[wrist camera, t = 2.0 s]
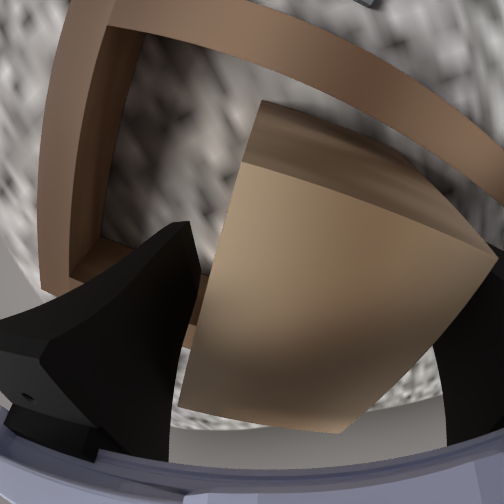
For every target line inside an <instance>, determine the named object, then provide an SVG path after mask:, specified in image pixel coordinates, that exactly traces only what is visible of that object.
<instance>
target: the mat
mask: <svg viewBox="0 0 504 504" xmlns="http://www.w3.org/2000/svg"><path fill="white" fill-rule="evenodd" d="M354 1H356V2H358V3H360V4H362V5H363V6H365V7H369V6H371V4H372V2H373V0H354Z"/></svg>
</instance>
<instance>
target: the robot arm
mask: <svg viewBox="0 0 504 504" xmlns="http://www.w3.org/2000/svg"><path fill="white" fill-rule="evenodd" d="M486 243H487V242H486ZM487 244H488V246H489V247H490V248H491V249H492V251H493V252H494V253H495V254H496V256H497V257H498V258H499V259H498V260H497V262H496V263H495V265H494V266H493V268H492V269H491V271H490V272H489V274H488V275H487V276H486V278H485V279H484V281H483V282H482V284H481V285H480V286H479V288H478V289H477V290H476V292H475V293H474V295H473V296H472V297H471V299H470V300H469V301H468V302H467V304H466V305H465V306H464V308H463V309H462V310H461V311H460V313H459V314H458V315H457V317H456V318H455V319H454V320H453V321H452V323H451V324H450V325H449V326H448V328H447V329H446V330H445V331H444V332H443V333H442V335H441V336H440V337H439V338H438V339H437V340H436V342H435V343H434V344H433V349H434V353H435V357H436V361H437V365H438V370H439V375H440V380H441V386H442V392H443V399H444V407H445V416H446V433H447V447H443V448H440V449H436V450H432V451H428V452H424V453H419V454H415V455H410V456H406V457H400V458H395V459H389V460H384V461H377V462H370V463H363V464H356V465H347V466H339V467H326V468H312V469H292V470H291V469H289V470H251V469H228V468H214V467H213V468H212V467H202V466H192V465H184V464H176V463H169V462H168V460H169V458H168V457H169V434H170V422H171V410H172V401H173V393H174V386H175V379H176V373H177V367H178V361H179V356H180V352H181V348H182V345H183V342H184V338H185V335H186V332H187V329H188V325H189V322H190V319H191V316H192V313H193V309H194V306H195V303H196V299H197V296H198V290H199V285H200V278H201V267H200V263H199V259H198V255H197V251H196V246H195V242H194V238H193V234H192V230H191V225H190V221H183V222H172V223H171V224H169V225H167V226H165V227H164V228H163V229H161V230H160V231H158V232H157V233H156V234H154V235H153V236H152V237H150V238H149V239H148V240H146V241H145V242H144V243H142V244H141V245H140V246H139V247H137V248H136V249H135V250H133V251H132V252H131V253H129V254H128V255H126V256H125V257H124V258H122V259H121V260H119V261H118V262H117V263H115V264H114V265H113V266H111V267H110V268H108V269H107V270H105V271H104V272H102V273H101V274H99V275H97V276H96V277H94V278H92V279H91V280H89V281H88V282H86V283H84V284H82V285H81V286H79V287H77V288H75V289H73V290H71V291H69V292H67V293H65V294H63V295H62V296H60V297H58V298H56V299H53V300H51V301H49V302H47V303H45V304H42V305H40V306H37V307H35V308H33V309H30V310H27V311H25V312H22V313H19V314H16V315H13V316H10V317H7V318H4V319H1V320H0V391H1V392H2V393H3V394H4V395H5V396H6V397H7V398H8V399H9V400H10V401H11V402H12V403H13V404H12V406H11V408H10V410H9V411H8V410H7V409H5V408H4V407H2V406H0V495H1V496H2V497H3V498H5V499H6V500H8V501H9V502H11V503H12V504H504V251H502V250H500V249H498V248H496V247H494V246H492V245H491V244H489V243H487Z"/></svg>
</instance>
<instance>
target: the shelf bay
mask: <svg viewBox="0 0 504 504" xmlns="http://www.w3.org/2000/svg"><path fill="white" fill-rule="evenodd" d="M146 33H151V34H156V35H160V36H165V37H169V38H173V39H177V40H181V41H185V42H188V43H192V44H196V45H199V46H203V47H206V48H209V49H213V50H216V51H219V52H222V53H226V54H229V55H232V56H235V57H238V58H241V59H243V60H246V61H249V62H252V63H255V64H257V65H260V66H263V67H265V68H268V69H271V70H273V71H276V72H278V73H281V74H283V75H286V76H288V77H290V78H293V79H295V80H298V81H300V82H302V83H304V84H307V85H309V86H311V87H313V88H316V89H318V90H320V91H322V92H324V93H326V94H329V95H331V96H333V97H335V98H337V99H339V100H341V101H343V102H345V103H347V104H349V105H351V106H353V107H355V108H357V109H359V110H360V111H362V112H364V113H366V114H368V115H370V116H372V117H373V118H375V119H377V120H379V121H381V122H382V123H384V124H386V125H388V126H389V127H391V128H393V129H394V130H396V131H398V132H400V133H401V134H403V135H404V136H406V137H408V138H409V139H411V140H413V141H414V142H416V143H417V144H419V145H420V146H422V147H424V148H425V149H427V150H428V151H430V152H431V153H433V154H434V155H436V156H437V157H439V158H440V159H442V160H443V161H445V162H446V163H447V164H449V165H450V166H452V167H453V168H454V169H456V170H457V171H459V172H460V173H461V174H463V175H464V176H465V177H467V178H468V179H469V180H471V181H472V182H473V183H475V184H476V185H477V186H479V187H480V188H481V189H482V190H484V191H485V192H486V193H487V194H489V195H490V196H491V197H492V198H494V199H495V200H496V201H497V202H499V203H500V204H501V205H502V206H503V207H504V150H503V149H502V148H501V147H500V146H499V145H498V144H497V143H496V142H494V141H493V140H492V139H491V138H490V137H489V136H488V135H487V134H485V133H484V132H483V131H482V130H481V129H480V128H479V127H477V126H476V125H475V124H474V123H473V122H471V121H470V120H469V119H468V118H466V117H465V116H464V115H463V114H461V113H460V112H459V111H458V110H456V109H455V108H454V107H452V106H451V105H450V104H448V103H447V102H446V101H444V100H443V99H442V98H440V97H439V96H438V95H436V94H435V93H433V92H432V91H430V90H429V89H428V88H426V87H425V86H423V85H422V84H420V83H419V82H417V81H416V80H414V79H413V78H411V77H410V76H408V75H406V74H405V73H403V72H402V71H400V70H398V69H397V68H395V67H394V66H392V65H390V64H388V63H387V62H385V61H383V60H382V59H380V58H378V57H376V56H375V55H373V54H371V53H369V52H367V51H366V50H364V49H362V48H360V47H358V46H356V45H354V44H352V43H350V42H348V41H346V40H344V39H342V38H340V37H338V36H336V35H334V34H332V33H330V32H327V31H325V30H323V29H321V28H319V27H316V26H314V25H312V24H309V23H307V22H305V21H302V20H300V19H297V18H295V17H292V16H290V15H287V14H284V13H282V12H279V11H276V10H274V9H271V8H268V7H265V6H262V5H259V4H256V3H253V2H250V1H247V0H71V3H70V6H69V9H68V12H67V15H66V18H65V22H64V25H63V29H62V32H61V36H60V39H59V43H58V47H57V51H56V55H55V59H54V63H53V68H52V73H51V77H50V82H49V88H48V93H47V99H46V105H45V112H44V119H43V126H42V135H41V144H40V156H39V170H38V192H37V233H38V255H39V269H40V281H41V289H42V290H44V291H46V292H48V293H50V294H53V295H55V296H57V297H60V296H62V295H63V294H65V293H67V292H69V291H71V290H73V289H75V288H77V287H79V286H81V285H82V284H84V283H86V282H88V281H89V280H91V279H92V278H94V277H96V276H97V275H99V274H101V273H102V272H104V271H105V270H107V269H108V268H110V267H111V266H113V265H114V264H115V263H117V262H118V261H119V260H121V259H122V258H124V257H125V256H126V255H128V254H129V253H131V252H132V251H133V250H135V249H132V248H130V247H127V246H125V245H122V244H119V243H117V242H114V241H112V240H109V239H106V238H104V237H101V236H100V234H101V225H102V218H103V210H104V203H105V197H106V190H107V184H108V179H109V173H110V168H111V162H112V157H113V152H114V147H115V143H116V138H117V134H118V129H119V125H120V121H121V117H122V113H123V109H124V105H125V101H126V97H127V94H128V90H129V86H130V83H131V80H132V76H133V73H134V70H135V66H136V63H137V60H138V57H139V54H140V51H141V48H142V45H143V42H144V39H145V36H146ZM208 280H209V276H206V275H203V274H201V278H200V285H199V290H198V296H197V299H196V303H195V306H194V309H193V313H192V316H191V319H190V322H189V325H188V329H187V332H186V335H185V338H184V342H183V345H182V347H185V348H188V349H191V347H192V343H193V339H194V335H195V331H196V327H197V323H198V319H199V315H200V311H201V307H202V303H203V299H204V295H205V292H206V288H207V284H208Z"/></svg>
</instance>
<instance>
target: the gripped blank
mask: <svg viewBox="0 0 504 504" xmlns="http://www.w3.org/2000/svg"><path fill="white" fill-rule="evenodd" d="M498 259H499V258H498V257H497V256H496V254H495V253H494V252H493V251H492V249H491V248H490V247H489V246H488V244H487V243H486V242H485V241H484V240H483V238H482V237H481V236H480V235H479V234H478V233H477V231H476V230H475V229H474V228H473V227H472V226H471V225H470V223H469V222H468V221H467V220H466V219H465V218H464V217H463V216H462V215H461V214H460V212H459V211H458V210H457V209H456V208H455V207H454V206H453V205H452V204H451V203H450V202H449V201H448V200H447V199H446V198H445V197H444V196H443V195H442V194H441V193H440V192H439V191H438V190H437V189H436V188H435V187H434V186H433V185H432V184H431V183H430V182H429V181H428V180H427V179H426V178H425V177H424V176H423V175H422V174H421V173H420V172H419V171H418V170H417V169H416V168H415V167H414V166H412V165H411V164H410V163H409V162H408V161H407V160H406V159H405V158H404V157H403V156H401V155H400V154H399V153H398V152H397V151H396V150H395V149H393V148H391V147H389V146H387V145H385V144H382V143H380V142H378V141H375V140H373V139H371V138H368V137H366V136H364V135H361V134H359V133H356V132H354V131H351V130H349V129H346V128H344V127H341V126H338V125H336V124H333V123H330V122H328V121H325V120H322V119H319V118H317V117H314V116H311V115H308V114H305V113H302V112H299V111H296V110H293V109H290V108H287V107H284V106H280V105H277V104H274V103H271V102H267V101H264V100H262V101H261V104H260V107H259V110H258V113H257V116H256V119H255V122H254V125H253V128H252V131H251V134H250V137H249V140H248V144H247V147H246V150H245V153H244V156H243V159H242V162H241V166H240V169H239V173H238V176H237V179H236V183H235V186H234V190H233V193H232V197H231V200H230V204H229V207H228V211H227V214H226V218H225V221H224V225H223V229H222V232H221V236H220V239H219V243H218V247H217V250H216V254H215V258H214V261H213V265H212V269H211V273H210V276H209V280H208V284H207V288H206V292H205V295H204V299H203V303H202V307H201V311H200V315H199V319H198V323H197V327H196V331H195V335H194V339H193V343H192V347H191V351H190V355H189V359H188V363H187V367H186V372H185V376H184V380H183V384H182V389H181V393H180V397H179V401H178V406H177V407H181V408H185V409H189V410H193V411H197V412H201V413H205V414H210V415H214V416H219V417H224V418H229V419H234V420H239V421H244V422H250V423H256V424H262V425H268V426H275V427H282V428H289V429H297V430H306V431H316V432H326V433H341V432H342V431H343V430H344V429H346V428H347V427H348V426H349V425H351V424H352V423H353V422H354V421H355V420H357V419H358V418H359V417H360V416H361V415H362V414H363V413H365V412H366V411H367V410H368V409H369V408H370V407H371V406H372V405H374V404H375V403H376V402H377V401H378V400H379V399H380V398H381V397H382V396H383V395H384V394H385V393H387V392H388V391H389V390H390V389H391V388H392V387H393V386H394V385H395V384H396V383H397V382H398V381H399V380H400V379H401V378H402V377H403V376H404V375H405V374H406V373H407V372H408V371H409V370H410V369H411V368H412V367H413V366H414V365H415V363H416V362H417V361H418V360H419V359H420V358H421V357H422V356H423V355H424V354H425V353H426V352H427V351H428V349H429V348H430V347H431V346H432V345H433V344H434V343H435V342H436V340H437V339H438V338H439V337H440V336H441V335H442V333H443V332H444V331H445V330H446V329H447V328H448V326H449V325H450V324H451V323H452V321H453V320H454V319H455V318H456V317H457V315H458V314H459V313H460V311H461V310H462V309H463V308H464V306H465V305H466V304H467V302H468V301H469V300H470V299H471V297H472V296H473V295H474V293H475V292H476V290H477V289H478V288H479V286H480V285H481V284H482V282H483V281H484V279H485V278H486V276H487V275H488V274H489V272H490V271H491V269H492V268H493V266H494V265H495V263H496V262H497V260H498Z"/></svg>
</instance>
